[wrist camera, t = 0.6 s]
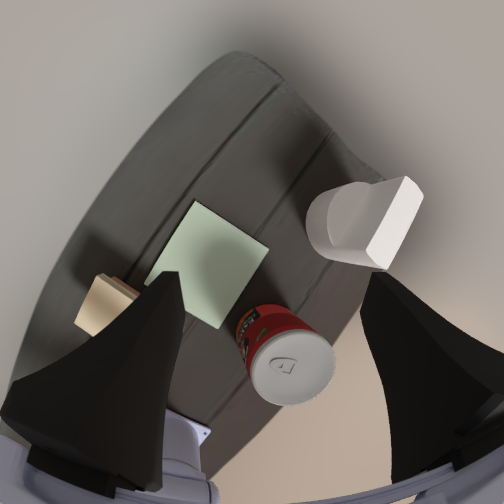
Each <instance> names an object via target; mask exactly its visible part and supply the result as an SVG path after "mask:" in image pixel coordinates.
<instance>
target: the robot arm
mask: <svg viewBox="0 0 504 504" xmlns="http://www.w3.org/2000/svg"><path fill="white" fill-rule="evenodd" d="M185 314H186V312H185V306H184V301H183V295H182V289H181V283H180V277H179V271H162V272H161V273H160V274H159V275H158V276H157V277H156V278H155V279H154V280H153V281H152V282H151V283H150V284H149V285H148V286H147V287H146V289H145V290H144V291H143V292H142V293H141V294H140V295H139V296H138V297H137V298H136V299H135V300H134V301H133V302H132V303H131V304H130V305H129V306H128V307H127V308H126V309H125V310H124V311H123V312H121V313H120V314H119V315H118V316H117V317H116V318H115V319H114V320H113V321H112V322H111V323H110V324H108V325H107V326H106V327H105V328H104V329H102V330H101V331H100V332H99V333H97V334H96V335H95V336H94V337H92V338H91V339H90V340H88V341H87V342H85V343H84V344H83V345H81V346H80V347H78V348H77V349H75V350H74V351H72V352H71V353H69V354H68V355H66V356H65V357H63V358H61V359H59V360H58V361H56V362H54V363H52V364H51V365H49V366H47V367H45V368H43V369H41V370H39V371H37V372H35V373H33V374H30V375H28V376H26V377H23V378H21V379H19V380H16V381H14V382H13V383H12V386H11V388H10V390H9V392H8V394H7V396H6V399H5V401H4V403H3V405H2V408H1V410H0V416H1V418H2V420H3V421H4V422H5V423H6V424H7V425H8V426H10V427H11V428H12V429H13V430H14V431H16V432H17V433H18V434H19V435H20V436H22V437H23V438H24V439H26V440H27V441H28V442H30V443H31V444H32V446H31V449H30V450H28V449H27V448H25V447H23V446H22V445H20V444H18V443H16V442H14V441H13V440H11V439H9V438H7V437H6V436H4V435H0V502H2V503H3V504H220V496H219V490H218V488H217V486H216V485H215V484H214V483H213V482H212V481H206V477H205V473H201V468H200V453H199V446H200V444H201V443H202V442H203V441H204V440H205V438H206V437H207V436H208V435H209V433H210V432H211V430H210V428H208V427H206V426H203V425H201V424H199V423H196V422H194V421H192V420H190V419H187V418H185V417H183V416H181V415H179V414H176V413H174V412H172V411H170V410H168V409H166V405H167V397H168V391H169V386H170V382H171V378H172V374H173V370H174V366H175V362H176V359H177V355H178V351H179V347H180V343H181V339H182V335H183V328H184V321H185ZM360 316H361V320H362V325H363V329H364V333H365V336H366V339H367V342H368V345H369V347H370V350H371V353H372V356H373V358H374V361H375V364H376V367H377V369H378V372H379V375H380V378H381V381H382V385H383V388H384V394H385V398H386V403H387V409H388V416H389V424H390V434H391V447H392V470H391V480H392V485H388V486H385V487H381V488H377V489H374V490H370V491H366V492H361V493H357V494H352V495H348V496H343V497H337V498H332V499H325V500H318V501H311V502H302V503H291V504H390V503H393V502H396V501H399V500H402V499H405V498H407V497H411V496H413V495H416V494H418V493H419V494H418V495H417V496H416V498H415V500H414V501H413V502H412V503H410V504H504V353H502V352H500V351H497V350H495V349H493V348H491V347H489V346H487V345H485V344H483V343H482V342H480V341H478V340H476V339H475V338H473V337H471V336H470V335H468V334H466V333H465V332H463V331H462V330H460V329H459V328H457V327H456V326H454V325H453V324H451V323H450V322H449V321H447V320H446V319H445V318H443V317H442V316H440V315H439V314H438V313H437V312H435V311H434V310H433V309H432V308H430V307H429V306H428V305H427V304H425V303H424V302H423V301H422V300H421V299H419V298H418V297H417V296H416V295H414V294H413V293H412V292H411V291H410V290H408V289H407V288H406V287H405V286H404V285H403V284H401V283H400V282H399V281H398V280H396V279H395V278H394V277H392V276H391V275H389V274H388V273H386V272H372V275H371V278H370V281H369V285H368V288H367V291H366V294H365V297H364V300H363V303H362V306H361V309H360ZM204 432H206V433H204Z"/></svg>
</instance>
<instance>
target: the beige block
mask: <svg viewBox="0 0 504 504" xmlns="http://www.w3.org/2000/svg"><path fill="white" fill-rule="evenodd" d="M136 298H137V296H136V295H134V294H133V293H131V292H130V291H128V290H127V289H125V288H124V287H122V286H121V285H119V284H118V283H117V282H115V281H114V280H112V279H111V278H109V277H108V276H107V275H105V274H104V273H102V274H100V275H97V276H96V278H95V280H94V282H93V284H92V286H91V288H90V290H89V292H88V294H87V296H86V298H85V300H84V302H83V305H82V307H81V309H80V311H79V313H78V315H77V318H76V320H75V322H74V323H75V324H76V325H78V326H79V327H80V328H82V329H83V330H85V331H86V332H87V333H89V334H90V335H92V336H93V337H94V336H95V335H96V334H97V333H99V332H100V331H101V330H102V329H104V328H105V327H106V326H107V325H108V324H110V323H111V322H112V321H113V320H114V319H115V318H116V317H117V316H118V315H119V314H120V313H121V312H123V311H124V310H125V309H126V308H127V307H128V306H129V305H130V304H131V303H132V302H133V301H134V300H135V299H136ZM183 331H184V328H183Z"/></svg>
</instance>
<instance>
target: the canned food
mask: <svg viewBox="0 0 504 504" xmlns="http://www.w3.org/2000/svg"><path fill="white" fill-rule="evenodd" d="M236 341H237V344H238V347H239V350H240V353H241V355H242V358H243V361H244V363H245V366H246V369H247V371H248V374H249V377H250V379H251V381H252V384H253V386H254V388H255V389H256V391H257V392H258V393H259V395H260V396H261V397H263V398H264V399H265V400H267V401H269V402H270V403H273V404H276V405H281V406H294V405H299V404H303V403H305V402H308V401H310V400H312V399H313V398H315V397H317V396H318V395H319V394H320V393H322V392H323V391H324V390H325V388H326V387H327V386H328V385H329V383H330V381H331V380H332V378H333V375H334V373H335V368H336V358H335V353H334V351H333V349H332V347H331V346H330V344H329V343H328V342H327V341H326V339H325V338H323V337H322V336H321V335H320V334H319V333H317V332H316V331H315V330H314V329H312V328H311V327H310V326H309V325H307V324H306V323H305V322H303V321H302V320H301V319H300V318H298V317H297V316H296V315H295V314H293V313H292V312H291V311H289V310H288V309H287V308H285V307H282V306H279V305H275V304H266V305H260V306H257V307H255V308H253V309H251V310H250V311H248V312H247V313H246V314H245V315H244V316H243V317H242V319H241V320H240V322H239V324H238V327H237V330H236Z"/></svg>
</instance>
